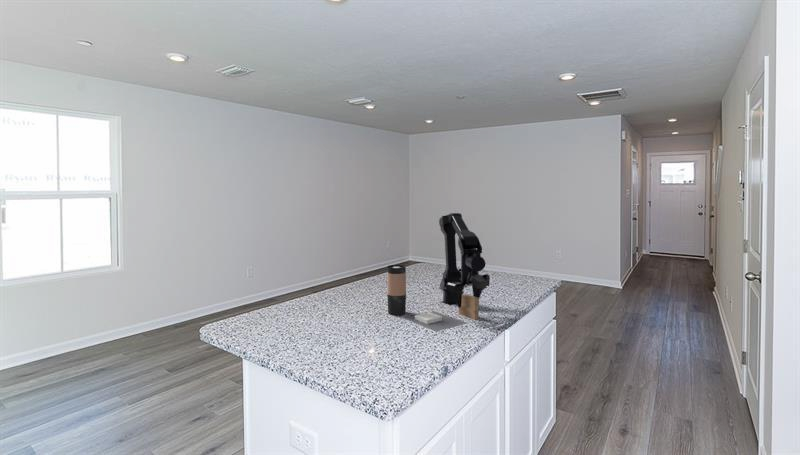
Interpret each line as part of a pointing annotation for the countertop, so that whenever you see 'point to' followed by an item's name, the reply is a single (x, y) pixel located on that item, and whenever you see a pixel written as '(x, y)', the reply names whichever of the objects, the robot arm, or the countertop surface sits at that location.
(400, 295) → the travel mug
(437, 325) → the mat
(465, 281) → the robot arm
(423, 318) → the tile
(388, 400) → the countertop surface
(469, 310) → the flat wooden plank
